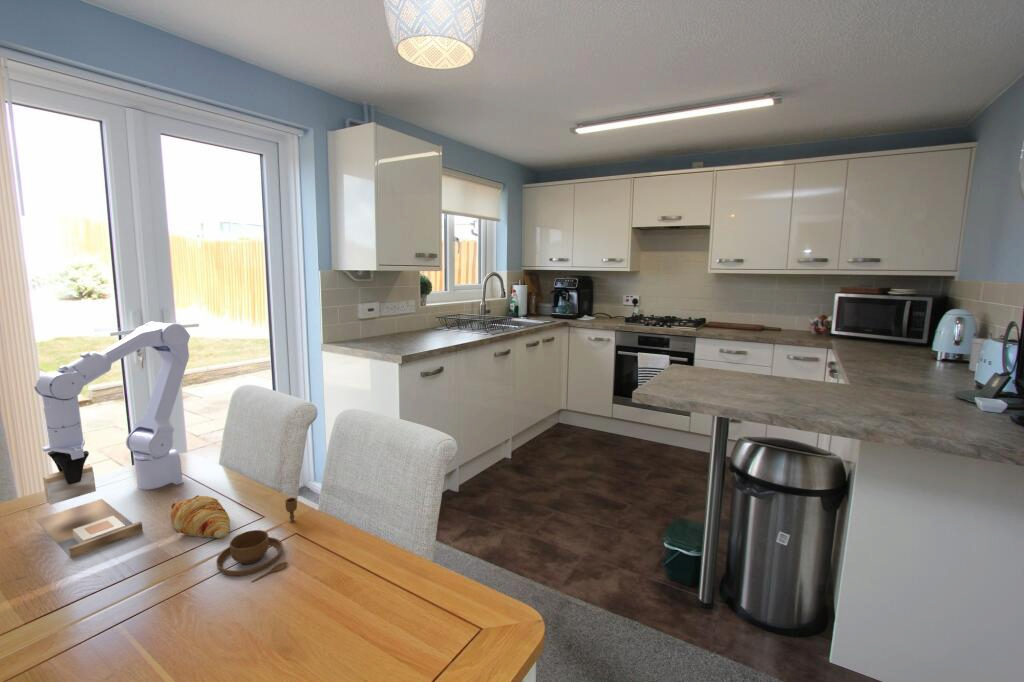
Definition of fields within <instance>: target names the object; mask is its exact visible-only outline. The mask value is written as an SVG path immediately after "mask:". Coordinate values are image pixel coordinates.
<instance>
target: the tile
mask: <svg viewBox="0 0 1024 682" xmlns="http://www.w3.org/2000/svg"><path fill="white" fill-rule="evenodd" d="M124 527H125V525H124V524H123V523H122V522H120V521H119V520H118V519H117V518H115V517H114V516H111V517H108V518H105V519H102V520H99V521H96V522H93V523H90V524H87V525H84V526H81V527H78V528H75V529H73V536H74V539H75V540H76V541H77V542H78V543H82V542H85V541H88V540H90V539H93V538H96V537H99V536H102V535H104V534H107V533H110V532H113V531H115V530H118V529H121V528H124Z"/></svg>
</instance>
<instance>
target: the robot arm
mask: <svg viewBox="0 0 1024 682" xmlns="http://www.w3.org/2000/svg"><path fill="white" fill-rule="evenodd" d="M190 339H191V335H190V334H189V332H188V331H187V329H186V328H185V327H184V326H183V325H182V324H179V323H167V322H159V321H149V322H146V323H145V324H143V325H140V326H138V327H137V328H136V329H135V330H134V331H132V332H131V333H129V334H128V335H126V336H125V337H124V338H122V339H119V340H118V341H117V342H115V343H114V344H112V345H111V346H109V347H107V348H105V349H104V350H103V351H101V352H98V351H90V352H87V351H86V352H85V351H84V352H82V353H81V354H80V355H79V356H80V357H79V358H77V359H76V360H73V361H72V362H70V363H68V364H66V365H65V364H63V365H60V366H59V367H58V370H57V371H48V372H45V373H44V374H42V375H41V376H40V377H39V379H38V380H37V381H36V385H34V386H33V388H34V391H35V392H36V394H37V395H39V396H41V397H42V403H43V409H44V410H43V411H44V417H45V424H46V425H45V426H46V430H47V438H48V445H45V446H42V451H43V452H45V453H46V452H47V455H48V456H49V457H50V458H51V459H52V461H53V462H54V464H55V465H56V468H57V470H58V472H61V471H63V473H64V476H65V479H66V481H67V483H68V484H69V485H71V484H74V483H78V482H81V478H82V471H83V466H84V465H85V463H86V460H87V459H88V457H89V454H90V453H89V451H88V450H84V446H85V443H86V439H84V434H83V426H82V420H81V419H82V418H81V411H80V403H79V397H78V396H79V395H80V394H81V393H82V391H83V388H84V387H85V386H87V385H88V384H90V383H92V382H94V381H95V380H96V379H99V378H100V377H102V376H103V375H105V374H107V373H108V372H110V370H111V369H112V364H113V363H115V362H117V361H119V360H121V359H124V358H125V357H127V356H129V355H131V354H133V353H134V352H136V351H138V350H141V349H142V348H147V347H150V348H152V349H153V350H155V351H156V352H157V353H158V354H159V356H160V357H161V358H162V362H161V365H160V368H159V371H158V375H157V377H156V381H155V383H154V387H153V389H152V393H151V396H150V399H149V402H148V404H147V408H146V410H145V414H144V416H143V417H142V418H141V419H139V420H138V421H137V422H135V425H134V426H133V429H132V431H130V433H129V434H128V435H127V437H126V439H125V440H126V441H125V445H126V447H127V449H128V450H129V451H131V452H132V454H133V459H134V460H133V461H134V466H135V467H134V469H135V478H136V486H137V489H139V490H142V491H143V490H145V491H147V490H153V489H158V488H161V487H164V486H166V485H169V484H172V483H173V484H174V485H181V484H183V483H185V481H184V480H183V471H182V463H181V462H182V461H181V457H180V453H179V452H178V451H177V449H174V448H173V446H174V437H173V436H174V431H175V429H174V426H173V425H172V424H171V422H170V419H171V415H172V412H173V409H174V405H175V403H176V400H177V397H178V394H179V391H180V390H179V389H180V387H181V383H182V380H183V378H184V374H185V372H186V368H187V365H188V361H189V358H190V352H189V342H190V341H189V340H190Z"/></svg>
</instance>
